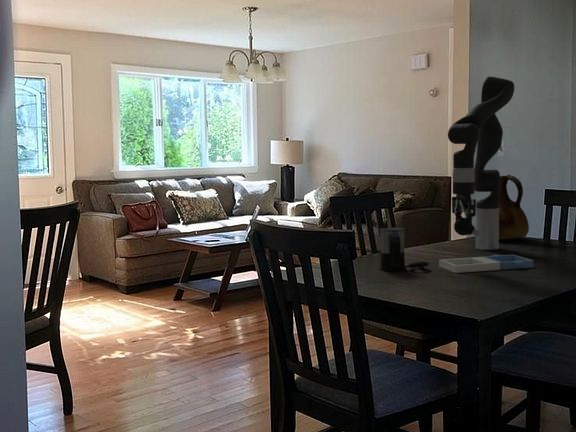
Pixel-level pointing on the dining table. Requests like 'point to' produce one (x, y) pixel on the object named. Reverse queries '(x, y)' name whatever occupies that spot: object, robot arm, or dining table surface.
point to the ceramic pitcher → (511, 212)
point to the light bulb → (461, 229)
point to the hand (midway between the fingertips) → (463, 226)
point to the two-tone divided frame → (485, 263)
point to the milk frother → (394, 250)
